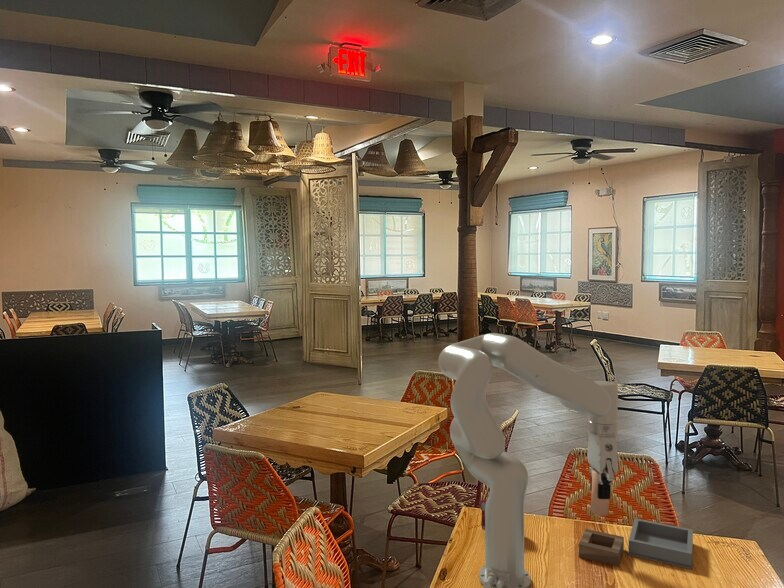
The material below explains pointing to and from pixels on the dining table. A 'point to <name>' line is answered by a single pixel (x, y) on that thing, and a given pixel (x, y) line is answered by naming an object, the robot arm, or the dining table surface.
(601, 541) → the collar block
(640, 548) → the tray
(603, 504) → the dowel
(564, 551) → the dining table surface
